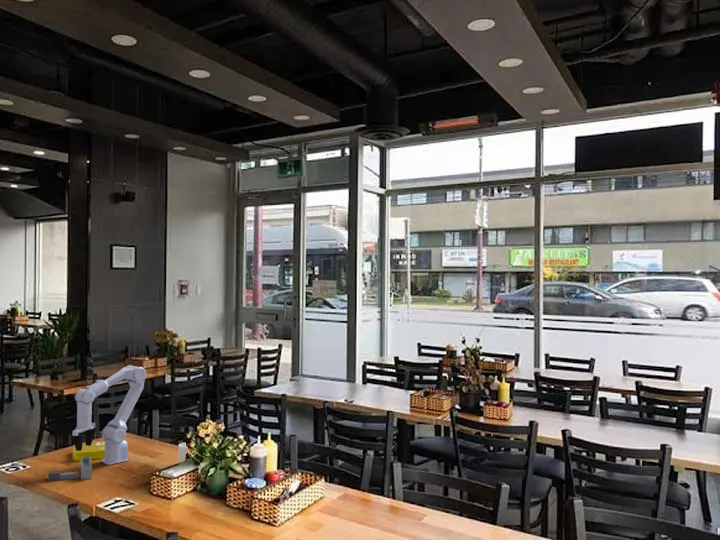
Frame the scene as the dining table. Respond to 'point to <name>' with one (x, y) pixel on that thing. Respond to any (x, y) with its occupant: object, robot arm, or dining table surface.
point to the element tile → (90, 451)
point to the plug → (61, 475)
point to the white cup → (182, 451)
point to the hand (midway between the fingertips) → (83, 448)
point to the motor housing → (86, 468)
